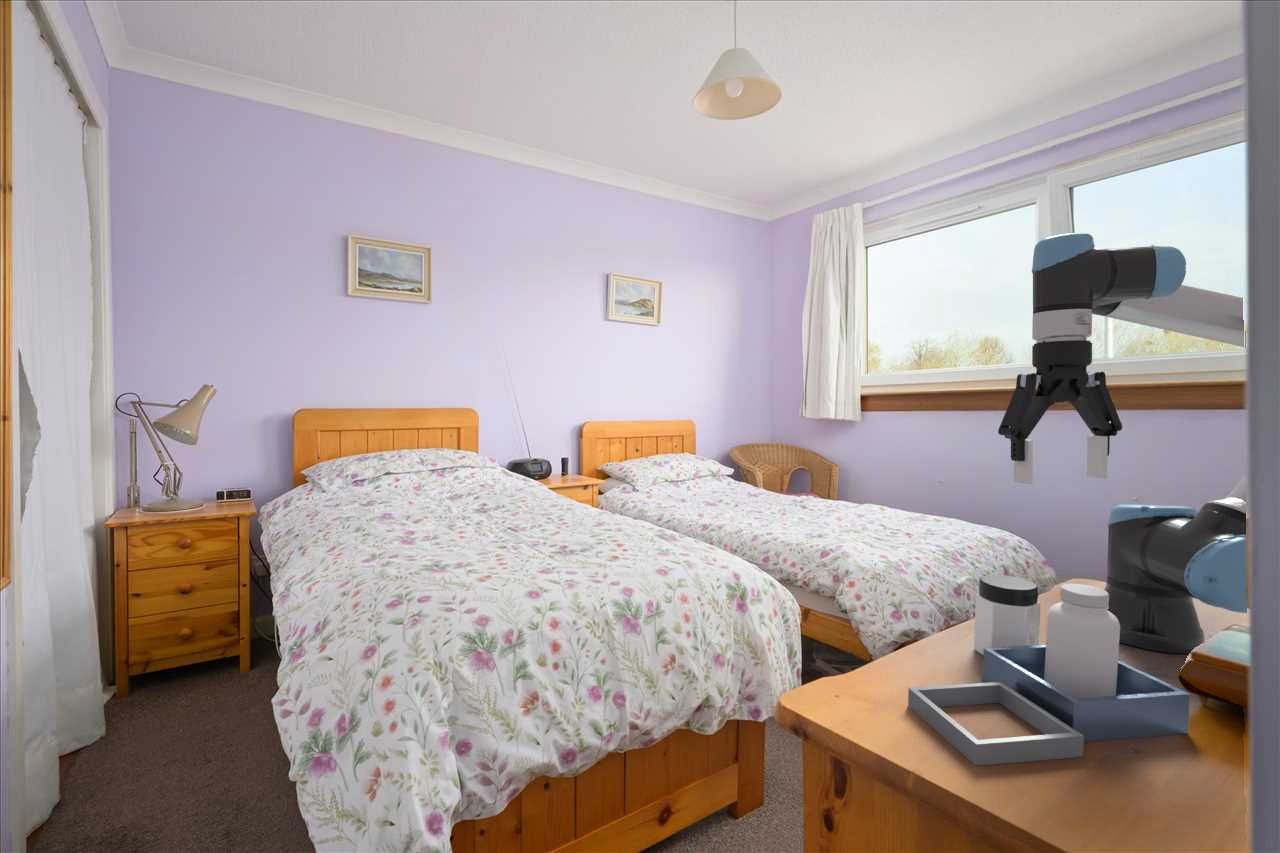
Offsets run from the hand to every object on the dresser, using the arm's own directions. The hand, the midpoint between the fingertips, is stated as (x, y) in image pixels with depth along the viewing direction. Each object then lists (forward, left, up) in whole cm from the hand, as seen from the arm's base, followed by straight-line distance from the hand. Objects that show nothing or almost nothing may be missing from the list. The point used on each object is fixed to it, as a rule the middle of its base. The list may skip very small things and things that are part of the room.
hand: (1060, 480), depth 95 cm
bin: (+7, +12, -29) cm, 32 cm away
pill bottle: (+7, +12, -28) cm, 31 cm away
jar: (+5, -4, -29) cm, 30 cm away
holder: (+23, +16, -29) cm, 40 cm away
